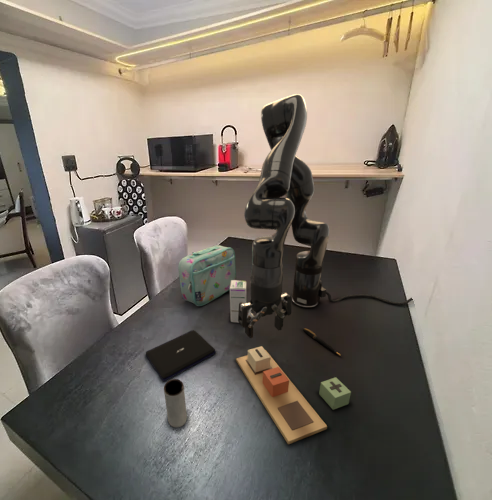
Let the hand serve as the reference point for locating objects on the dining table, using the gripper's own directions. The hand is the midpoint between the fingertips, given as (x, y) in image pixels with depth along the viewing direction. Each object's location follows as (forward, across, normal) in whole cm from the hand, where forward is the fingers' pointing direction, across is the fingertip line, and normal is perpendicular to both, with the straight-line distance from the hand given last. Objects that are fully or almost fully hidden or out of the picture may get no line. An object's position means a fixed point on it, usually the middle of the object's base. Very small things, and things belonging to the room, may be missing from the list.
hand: (264, 332), depth 70 cm
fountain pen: (+13, +22, +3) cm, 26 cm away
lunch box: (+13, 0, +43) cm, 45 cm away
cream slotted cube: (+12, -1, +1) cm, 12 cm away
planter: (+13, -27, -6) cm, 30 cm away
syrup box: (+13, +4, +24) cm, 27 cm away
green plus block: (+13, +11, -14) cm, 22 cm away
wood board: (+13, -1, -7) cm, 15 cm away
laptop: (+13, -21, +14) cm, 28 cm away
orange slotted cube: (+12, -1, -7) cm, 14 cm away
